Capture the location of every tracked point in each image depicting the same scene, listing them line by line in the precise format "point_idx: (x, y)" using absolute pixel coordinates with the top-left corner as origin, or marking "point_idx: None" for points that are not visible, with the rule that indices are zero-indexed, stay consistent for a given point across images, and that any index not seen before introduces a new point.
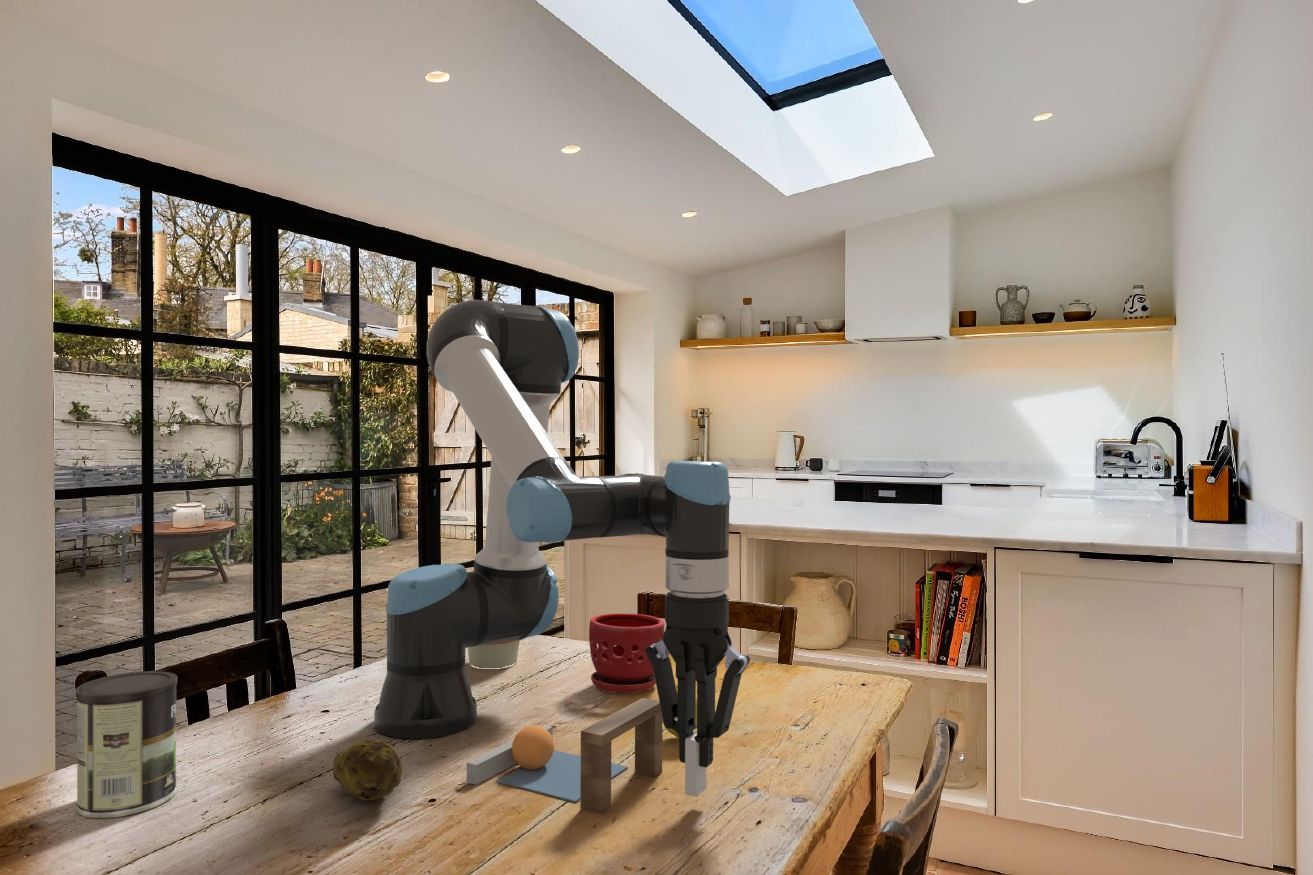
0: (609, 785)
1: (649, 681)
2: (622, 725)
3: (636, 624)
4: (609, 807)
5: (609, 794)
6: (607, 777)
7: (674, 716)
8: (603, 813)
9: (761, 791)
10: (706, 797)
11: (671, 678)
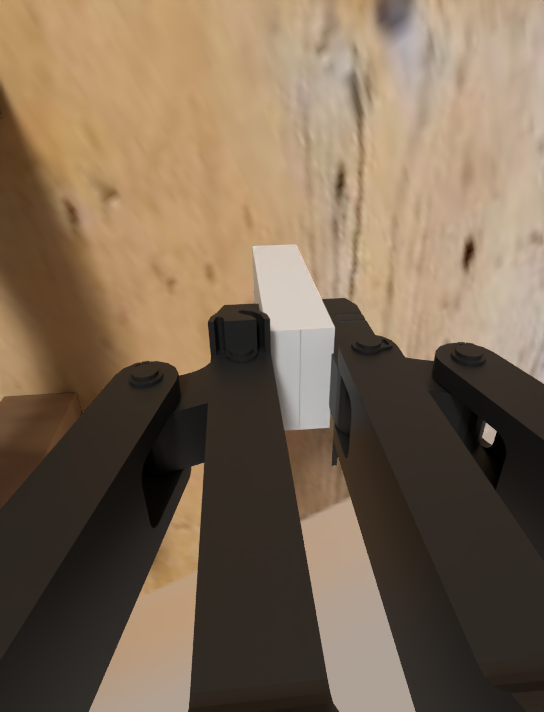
0: (57, 442)
1: None
2: None
3: None
4: (77, 402)
5: (66, 424)
6: None
7: (163, 449)
8: None
9: (428, 5)
10: (265, 180)
11: (21, 684)
